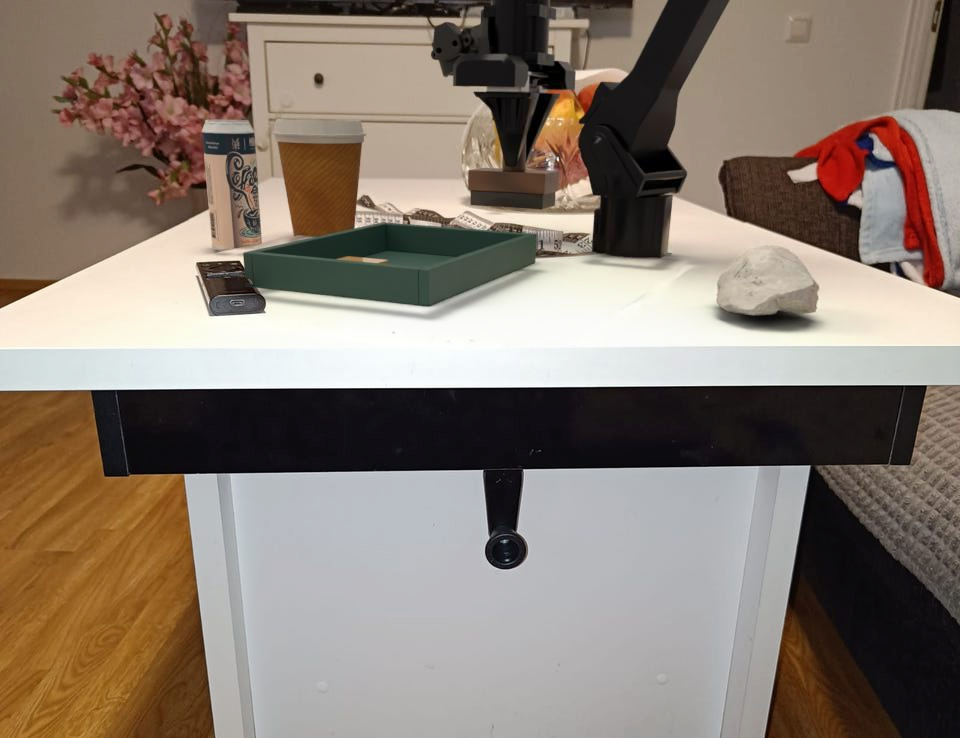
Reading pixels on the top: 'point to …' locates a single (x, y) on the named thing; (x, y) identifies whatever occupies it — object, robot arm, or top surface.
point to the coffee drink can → (231, 184)
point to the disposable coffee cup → (320, 172)
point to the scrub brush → (513, 186)
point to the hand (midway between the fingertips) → (515, 165)
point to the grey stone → (767, 284)
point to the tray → (391, 262)
